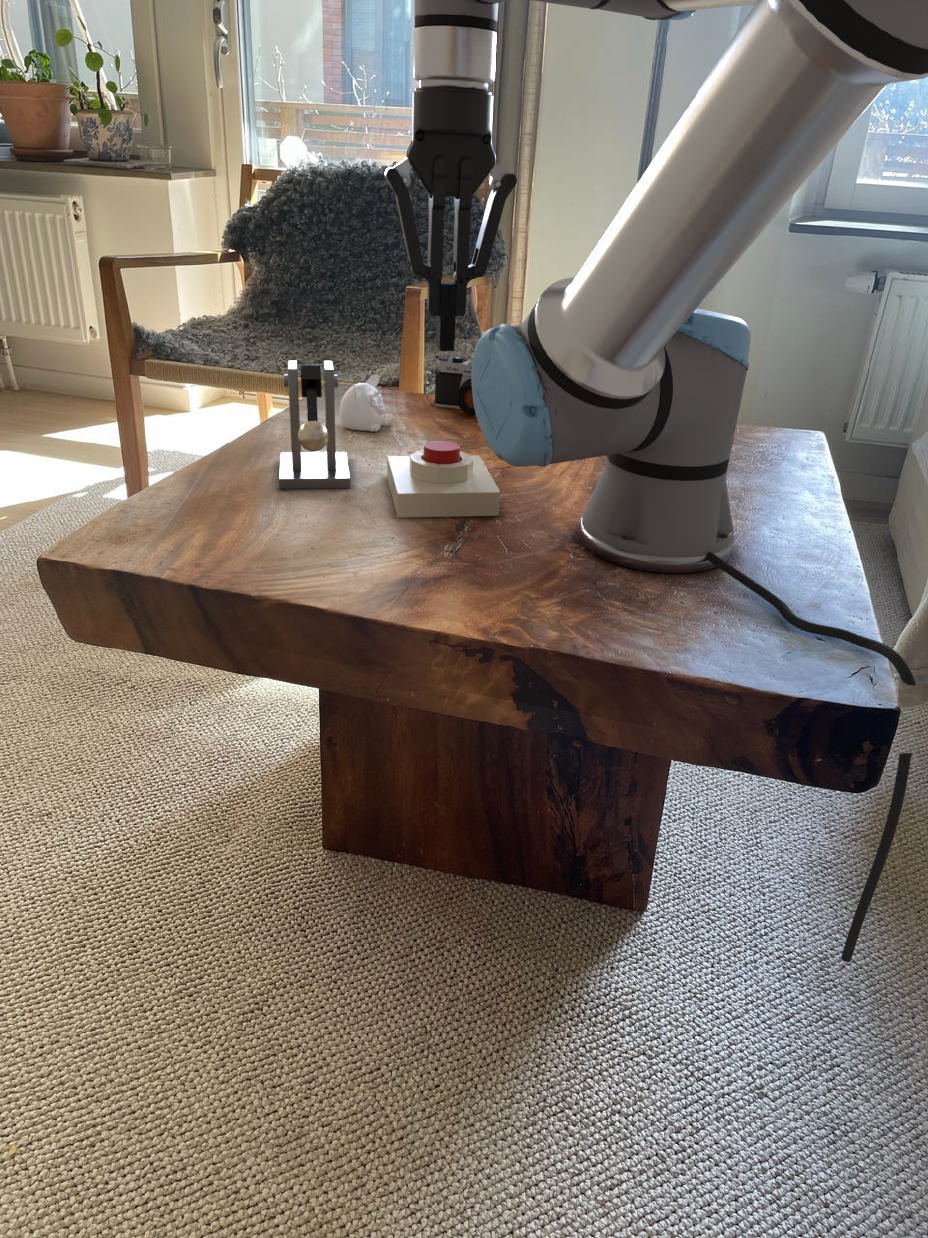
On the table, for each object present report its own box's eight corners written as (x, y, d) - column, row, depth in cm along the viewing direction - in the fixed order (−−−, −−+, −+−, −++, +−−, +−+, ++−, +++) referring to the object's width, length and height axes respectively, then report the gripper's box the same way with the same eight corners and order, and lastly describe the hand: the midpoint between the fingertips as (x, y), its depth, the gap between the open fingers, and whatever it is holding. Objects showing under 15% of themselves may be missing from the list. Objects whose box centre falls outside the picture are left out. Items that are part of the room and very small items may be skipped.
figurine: (372, 436, 120) (372, 387, 117) (329, 429, 122) (328, 381, 119) (395, 421, 127) (395, 375, 124) (354, 416, 129) (354, 370, 126)
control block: (499, 515, 96) (501, 475, 94) (397, 517, 94) (397, 476, 92) (478, 476, 107) (480, 440, 105) (387, 477, 105) (387, 440, 103)
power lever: (329, 457, 94) (328, 433, 92) (298, 457, 94) (297, 433, 91) (325, 385, 103) (324, 361, 100) (297, 385, 102) (296, 361, 100)
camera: (424, 414, 132) (430, 352, 128) (434, 400, 139) (440, 342, 134) (510, 428, 131) (519, 366, 126) (516, 414, 138) (524, 355, 133)
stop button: (462, 466, 97) (462, 450, 96) (425, 466, 97) (426, 451, 96) (456, 455, 101) (457, 440, 100) (421, 455, 100) (422, 440, 99)
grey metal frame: (350, 488, 102) (348, 375, 96) (279, 489, 100) (272, 374, 94) (346, 461, 110) (344, 355, 104) (281, 461, 109) (275, 355, 103)
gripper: (514, 92, 86) (499, 342, 97) (379, 84, 84) (380, 340, 95) (531, 88, 80) (513, 356, 91) (386, 79, 78) (385, 354, 89)
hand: (445, 348), depth 93 cm, fingers closed
